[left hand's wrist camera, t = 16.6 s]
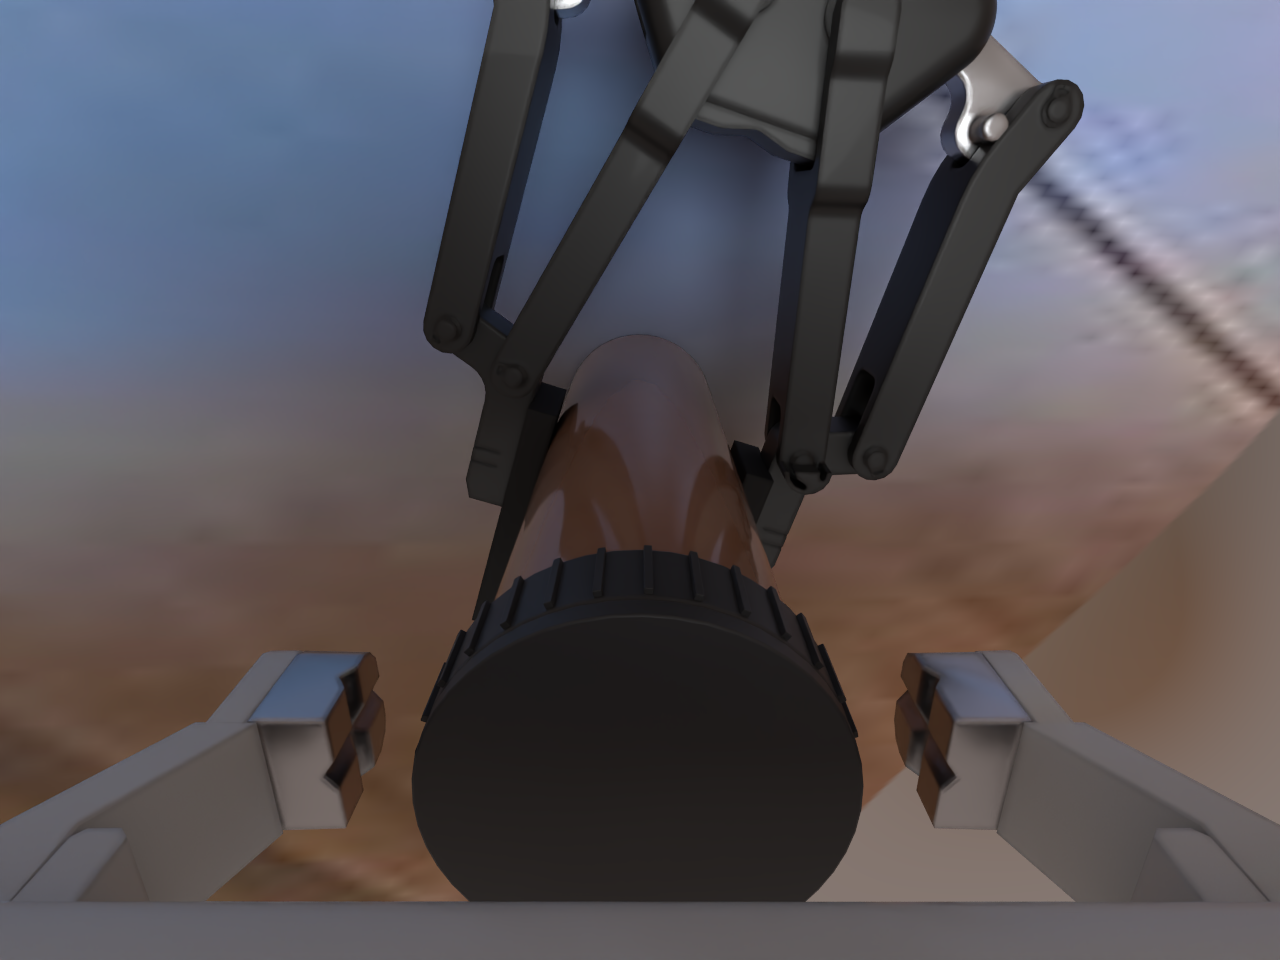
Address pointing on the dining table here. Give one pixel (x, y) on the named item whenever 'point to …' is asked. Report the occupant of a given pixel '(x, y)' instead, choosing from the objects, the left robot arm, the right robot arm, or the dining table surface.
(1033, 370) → the dining table surface
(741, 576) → the lid
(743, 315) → the dining table surface
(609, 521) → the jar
